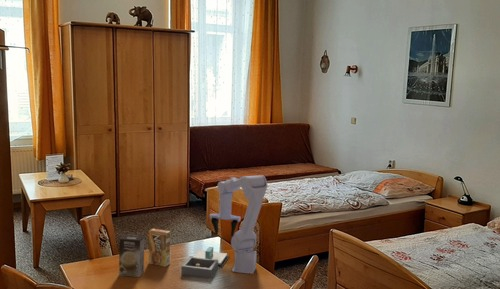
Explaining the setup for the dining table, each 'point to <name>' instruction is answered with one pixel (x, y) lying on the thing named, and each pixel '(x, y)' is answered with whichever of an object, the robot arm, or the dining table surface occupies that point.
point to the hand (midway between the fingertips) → (224, 234)
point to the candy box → (159, 247)
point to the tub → (199, 267)
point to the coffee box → (131, 255)
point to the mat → (223, 262)
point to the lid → (211, 255)
